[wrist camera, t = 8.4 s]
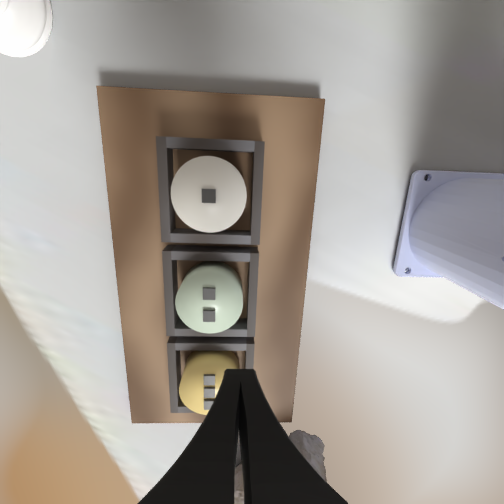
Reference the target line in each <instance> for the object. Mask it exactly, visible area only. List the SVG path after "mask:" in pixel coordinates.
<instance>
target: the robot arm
mask: <svg viewBox="0 0 504 504" xmlns="http://www.w3.org/2000/svg"><path fill="white" fill-rule="evenodd" d="M426 174H427V175H428V179H427V180H426V181H425V180H424V177H425V175H426ZM406 268H408V271H407V272H405V269H406ZM393 272H394V274H396V275H397V276H401V277H444V278H446V279H448V280H449V281H451V282H453V283H455V284H457V285H459V286H461V287H462V288H464V289H466V290H468V291H470V292H472V293H474V294H475V295H477V296H479V297H481V298H483V299H485V300H487V301H488V302H490V303H492V304H494V305H496V306H498V307H500V308H502V309H503V310H504V174H503V173H480V172H458V171H435V170H417V171H415V172H414V173H413V174H412V176H411V181H410V186H409V191H408V196H407V201H406V206H405V211H404V216H403V221H402V226H401V231H400V237H399V242H398V247H397V252H396V257H395V262H394V267H393ZM238 432H239V436H240V448H241V460H242V472H243V485H244V504H348V503H347V501H345V500H344V499H343V498H342V497H341V496H340V495H339V494H338V493H337V492H336V491H335V490H334V489H333V488H332V487H331V486H330V485H329V484H328V483H327V482H326V481H325V480H324V479H323V478H322V477H321V476H320V475H319V474H318V473H317V472H316V471H315V469H314V468H313V467H312V466H311V465H310V463H309V462H308V461H307V460H306V459H305V458H304V456H303V455H302V454H301V453H300V452H299V450H298V449H297V448H296V446H295V445H294V444H293V442H292V441H291V439H290V438H289V437H288V435H287V434H286V432H285V431H284V429H283V428H282V426H281V425H280V423H279V421H278V419H277V418H276V416H275V414H274V413H273V411H272V409H271V407H270V405H269V403H268V401H267V399H266V397H265V395H264V393H263V391H262V388H261V386H260V383H259V381H258V378H257V374H256V371H255V370H254V369H226V370H225V371H224V376H223V380H222V383H221V385H220V388H219V390H218V393H217V395H216V397H215V399H214V402H213V404H212V406H211V408H210V410H209V411H208V413H207V415H206V417H205V419H204V421H203V422H202V424H201V426H200V427H199V429H198V431H197V432H196V434H195V435H194V437H193V438H192V440H191V441H190V443H189V444H188V446H187V447H186V448H185V450H184V451H183V453H182V454H181V455H180V457H179V458H178V459H177V460H176V462H175V463H174V464H173V465H172V467H171V468H170V469H169V470H168V471H167V473H166V474H165V475H164V476H163V477H162V478H161V480H160V481H159V482H158V483H157V484H156V485H155V486H154V487H153V488H152V489H151V490H150V491H149V492H148V493H147V495H146V496H145V497H144V498H143V499H142V500H141V501H140V502H139V503H138V504H234V477H235V464H236V453H237V443H238Z"/></svg>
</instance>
